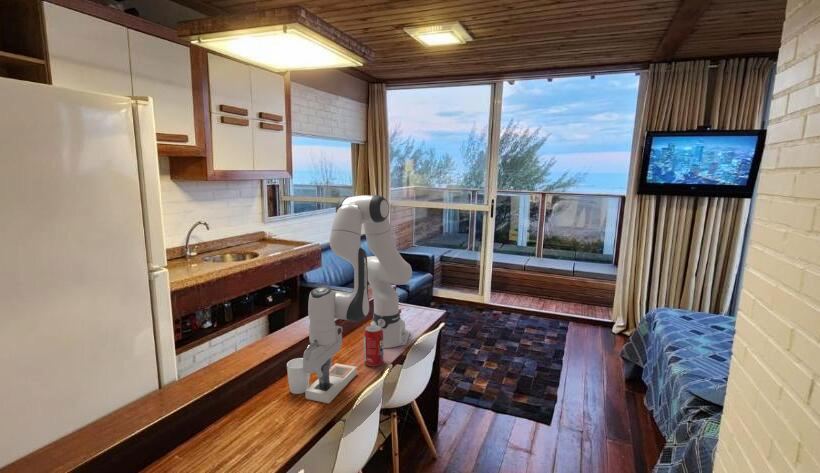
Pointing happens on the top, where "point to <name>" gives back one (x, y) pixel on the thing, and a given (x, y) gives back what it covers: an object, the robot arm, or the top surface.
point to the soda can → (373, 345)
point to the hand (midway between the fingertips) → (324, 372)
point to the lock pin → (325, 377)
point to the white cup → (297, 376)
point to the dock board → (332, 383)
